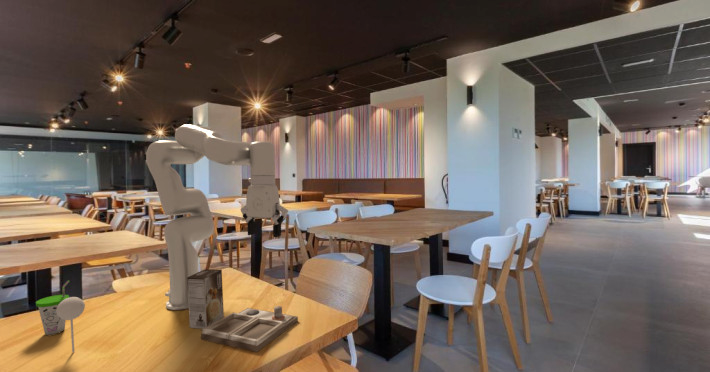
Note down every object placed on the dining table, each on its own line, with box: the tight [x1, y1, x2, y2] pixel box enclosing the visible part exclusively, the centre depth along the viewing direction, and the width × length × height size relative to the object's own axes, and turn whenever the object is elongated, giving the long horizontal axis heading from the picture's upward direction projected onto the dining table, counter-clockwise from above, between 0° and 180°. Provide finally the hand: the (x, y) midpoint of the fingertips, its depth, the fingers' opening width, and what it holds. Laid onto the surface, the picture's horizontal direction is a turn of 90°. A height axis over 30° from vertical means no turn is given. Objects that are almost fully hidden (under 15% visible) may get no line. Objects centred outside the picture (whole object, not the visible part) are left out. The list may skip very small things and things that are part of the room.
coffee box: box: [187, 268, 225, 330], centre depth 110 cm, size 9×6×16 cm
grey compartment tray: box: [200, 305, 299, 353], centre depth 104 cm, size 20×20×5 cm
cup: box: [35, 280, 70, 336], centre depth 105 cm, size 8×8×15 cm
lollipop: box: [56, 296, 86, 353], centre depth 93 cm, size 6×6×15 cm
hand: (264, 235), depth 108 cm, fingers open, 9 cm apart
